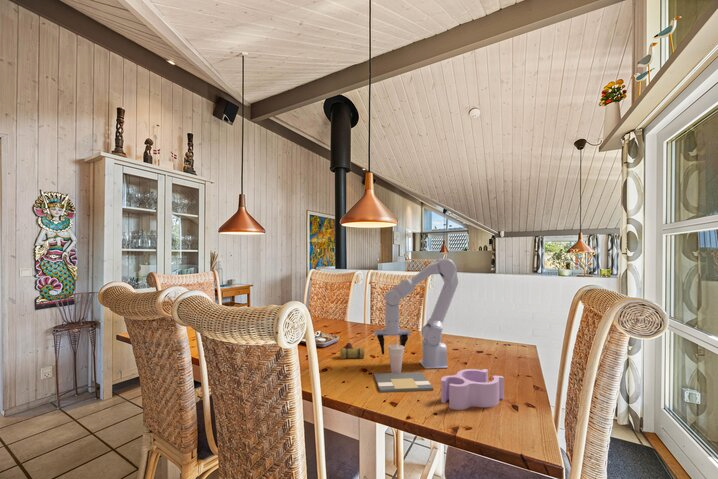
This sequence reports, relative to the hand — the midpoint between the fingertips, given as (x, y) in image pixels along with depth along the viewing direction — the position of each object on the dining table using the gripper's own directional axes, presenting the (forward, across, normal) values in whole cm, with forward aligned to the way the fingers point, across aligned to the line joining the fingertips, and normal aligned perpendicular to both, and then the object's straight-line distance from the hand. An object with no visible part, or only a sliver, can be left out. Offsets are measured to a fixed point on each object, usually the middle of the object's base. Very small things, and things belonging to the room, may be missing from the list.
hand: (392, 353), depth 130 cm
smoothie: (+5, 0, +8) cm, 9 cm away
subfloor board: (+5, 0, +18) cm, 18 cm away
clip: (+5, -19, +32) cm, 37 cm away
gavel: (+5, +16, -19) cm, 25 cm away
